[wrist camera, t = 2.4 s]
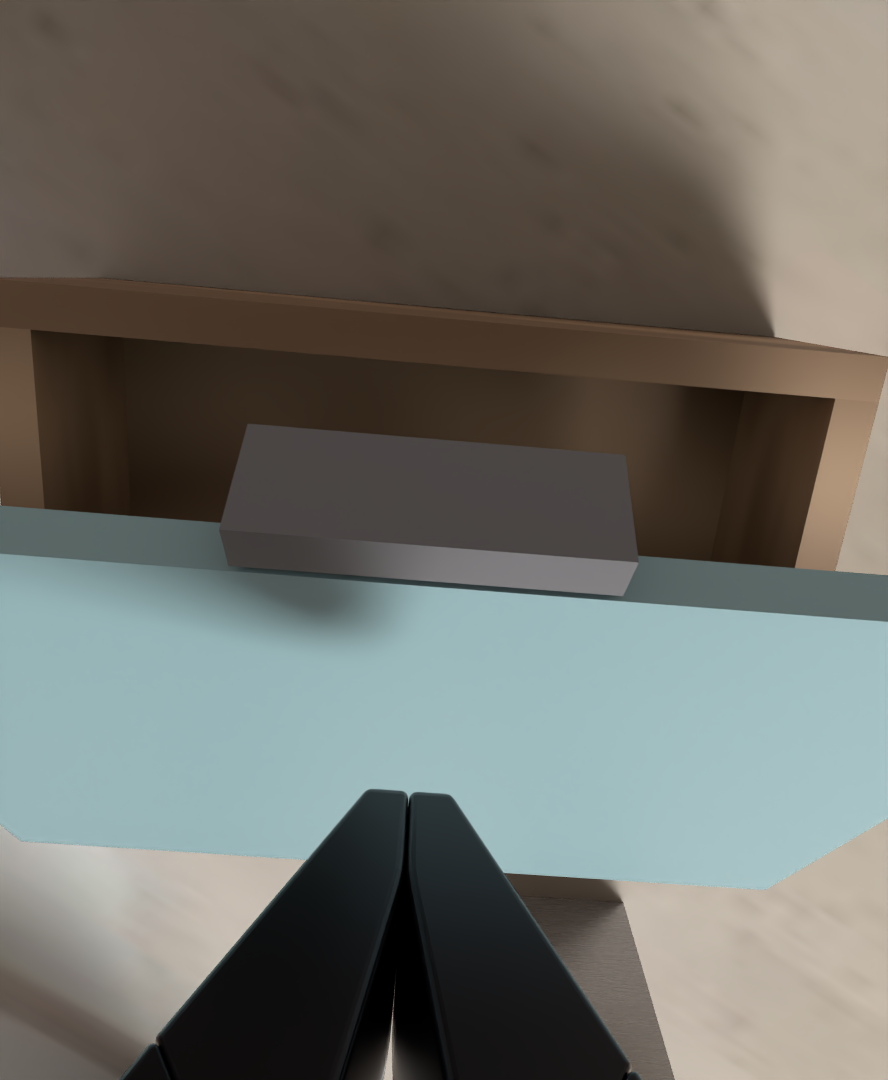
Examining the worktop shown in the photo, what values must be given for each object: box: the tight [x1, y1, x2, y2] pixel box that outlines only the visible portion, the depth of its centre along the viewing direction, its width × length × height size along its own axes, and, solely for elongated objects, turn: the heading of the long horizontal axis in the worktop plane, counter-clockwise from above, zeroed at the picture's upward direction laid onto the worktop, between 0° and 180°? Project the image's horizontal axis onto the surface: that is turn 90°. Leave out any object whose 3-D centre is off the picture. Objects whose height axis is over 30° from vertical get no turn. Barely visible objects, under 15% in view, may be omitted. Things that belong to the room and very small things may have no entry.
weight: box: [519, 896, 675, 1080], centre depth 22 cm, size 4×4×6 cm
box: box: [0, 278, 888, 571], centre depth 18 cm, size 11×16×5 cm
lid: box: [0, 424, 888, 890], centre depth 13 cm, size 12×16×1 cm
